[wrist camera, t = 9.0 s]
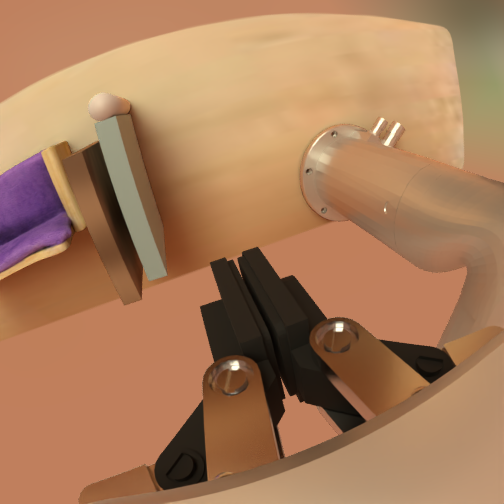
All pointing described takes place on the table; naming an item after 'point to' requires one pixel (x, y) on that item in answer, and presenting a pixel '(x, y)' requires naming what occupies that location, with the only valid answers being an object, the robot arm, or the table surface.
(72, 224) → the toy sofa
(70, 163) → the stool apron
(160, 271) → the grey panel
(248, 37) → the table surface
